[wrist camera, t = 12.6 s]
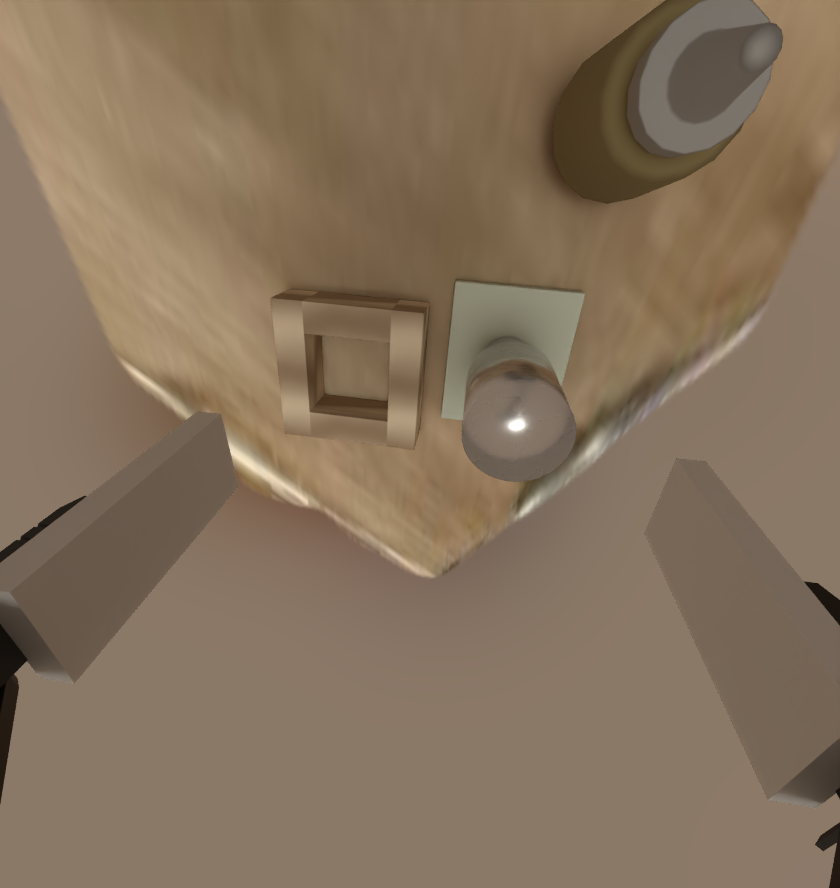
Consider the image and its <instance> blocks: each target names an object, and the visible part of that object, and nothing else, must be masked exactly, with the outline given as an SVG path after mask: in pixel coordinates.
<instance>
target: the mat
mask: <svg viewBox="0 0 840 888" xmlns="http://www.w3.org/2000/svg"><path fill="white" fill-rule="evenodd" d="M584 297H585V293H584V292H583V291H573V290H562V289H552V288H541V287H530V286H520V285H509V284H498V283H488V282H477V281H467V280H456V282H455V292H454V301H453V311H452V320H451V330H450V339H449V349H448V358H447V368H446V377H445V387H444V396H443V405H442V415H441V418H447V419H455V420H463V412H464V400H465V389H466V378H467V374H468V371H469V368H470V366H471V364H472V363H473V361H474V360H475V359H476V357H477V356H478V355H479V354H480V353H482V352H483V350H484V349H485V347H486V346H487V345H488V344H489V343H490V342H492V341H493V340H495V339H497V338H500V337H504V336H512V337H517V338H519V339H521V340H523V341H524V342H525V343H528V344H531V345H533V346H535V347H536V348H538V349H539V350H541V351H542V352H543V353H544V354H545V355H546V356H547V357H548V359H549V360H550V362H551V364H552V366H553V369H554V371H555V373H556V376H557V378H558V380H559V383H560V385H561V387H562V383H563V379H564V375H565V371H566V367H567V363H568V359H569V355H570V352H571V348H572V344H573V340H574V336H575V332H576V328H577V324H578V320H579V317H580V313H581V309H582V305H583V301H584Z"/></svg>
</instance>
